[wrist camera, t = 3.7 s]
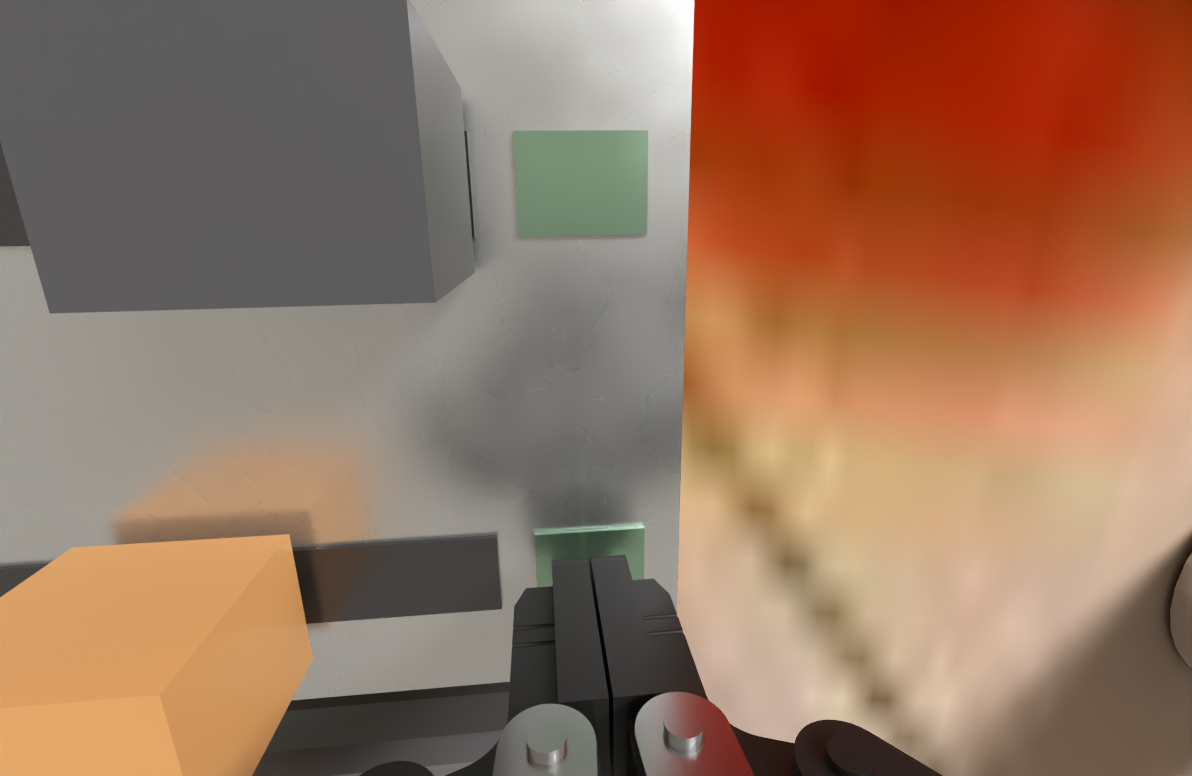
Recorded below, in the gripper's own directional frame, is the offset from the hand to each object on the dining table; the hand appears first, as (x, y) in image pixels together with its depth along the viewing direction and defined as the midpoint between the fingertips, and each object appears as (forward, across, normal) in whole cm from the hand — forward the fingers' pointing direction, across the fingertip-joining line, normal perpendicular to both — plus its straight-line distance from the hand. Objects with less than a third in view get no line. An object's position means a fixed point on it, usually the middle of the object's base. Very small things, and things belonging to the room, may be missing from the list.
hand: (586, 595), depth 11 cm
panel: (+5, +7, -4) cm, 9 cm away
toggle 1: (+1, +4, -8) cm, 9 cm away
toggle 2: (+1, +8, 0) cm, 8 cm away
